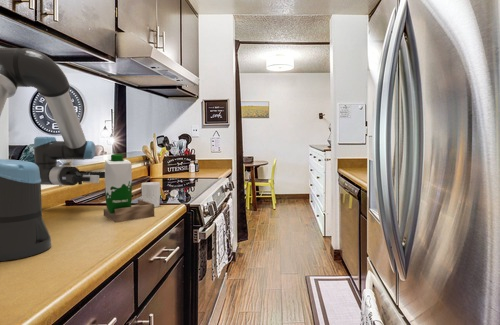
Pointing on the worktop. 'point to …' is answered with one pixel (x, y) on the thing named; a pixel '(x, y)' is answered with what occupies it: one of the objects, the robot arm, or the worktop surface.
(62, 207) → the worktop surface
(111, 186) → the white two-tone container
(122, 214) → the wooden tray
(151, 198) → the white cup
